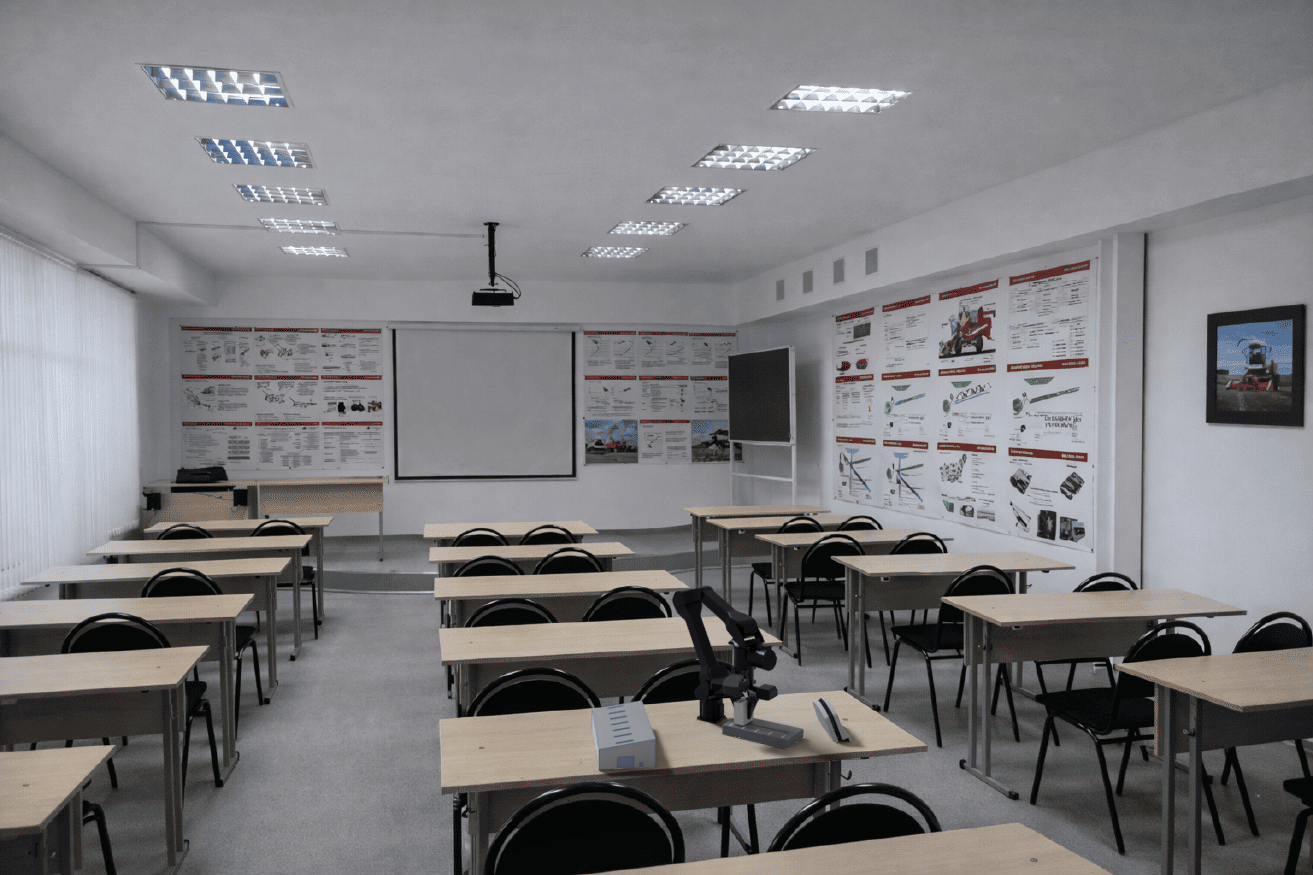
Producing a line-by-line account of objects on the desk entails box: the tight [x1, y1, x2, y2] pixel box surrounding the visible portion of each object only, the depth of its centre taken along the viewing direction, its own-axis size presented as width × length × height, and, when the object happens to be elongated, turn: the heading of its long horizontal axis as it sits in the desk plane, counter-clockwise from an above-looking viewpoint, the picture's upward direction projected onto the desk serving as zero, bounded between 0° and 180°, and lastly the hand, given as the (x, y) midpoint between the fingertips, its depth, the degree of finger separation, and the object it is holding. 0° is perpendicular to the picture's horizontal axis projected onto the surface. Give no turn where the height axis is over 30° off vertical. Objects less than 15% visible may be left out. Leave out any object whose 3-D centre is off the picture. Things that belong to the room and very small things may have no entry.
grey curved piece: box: [812, 696, 853, 743], centre depth 235 cm, size 17×5×10 cm, turn 3°
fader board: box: [721, 717, 805, 750], centre depth 231 cm, size 20×10×3 cm, turn 55°
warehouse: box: [591, 700, 657, 771], centre depth 224 cm, size 30×14×8 cm, turn 8°
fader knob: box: [733, 696, 754, 726], centre depth 235 cm, size 3×6×6 cm, turn 145°
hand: (743, 717), depth 235 cm, fingers open, 3 cm apart
